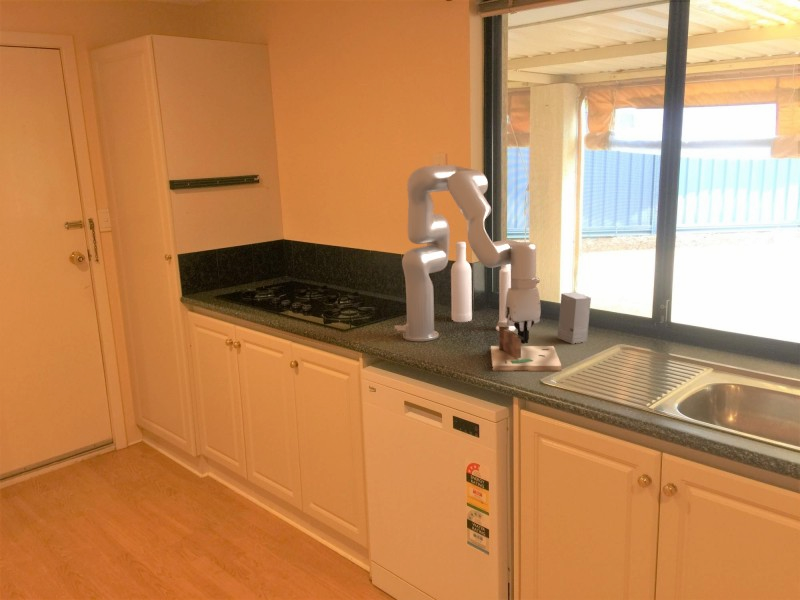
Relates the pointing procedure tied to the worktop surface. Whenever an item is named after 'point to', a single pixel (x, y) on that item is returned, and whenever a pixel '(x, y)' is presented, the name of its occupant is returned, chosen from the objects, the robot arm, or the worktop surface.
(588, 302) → the skincare box
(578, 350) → the worktop surface
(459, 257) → the bottle
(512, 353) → the peg
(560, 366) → the tuner plate
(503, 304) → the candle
